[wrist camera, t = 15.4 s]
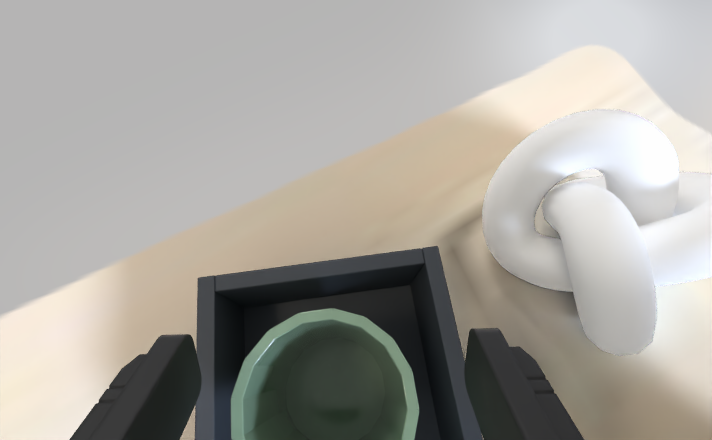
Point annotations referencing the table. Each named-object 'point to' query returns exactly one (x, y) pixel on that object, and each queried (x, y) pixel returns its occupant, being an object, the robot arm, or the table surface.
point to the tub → (347, 293)
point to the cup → (325, 383)
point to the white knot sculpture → (602, 221)
